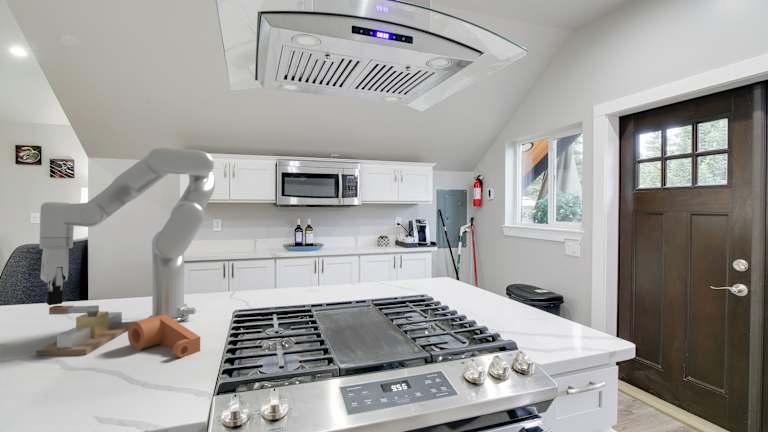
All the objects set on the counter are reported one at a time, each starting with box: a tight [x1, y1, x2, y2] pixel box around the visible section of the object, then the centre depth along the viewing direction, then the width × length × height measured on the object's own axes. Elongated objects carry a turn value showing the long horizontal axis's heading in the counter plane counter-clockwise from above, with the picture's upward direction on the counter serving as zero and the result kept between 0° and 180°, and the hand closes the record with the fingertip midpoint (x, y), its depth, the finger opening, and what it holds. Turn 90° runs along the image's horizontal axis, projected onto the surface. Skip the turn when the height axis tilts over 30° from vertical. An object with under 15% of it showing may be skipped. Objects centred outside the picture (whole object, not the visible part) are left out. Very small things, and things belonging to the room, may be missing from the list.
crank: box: [127, 314, 201, 359], centre depth 100 cm, size 20×8×8 cm, turn 63°
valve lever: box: [48, 304, 100, 315], centre depth 106 cm, size 12×3×2 cm, turn 97°
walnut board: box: [35, 321, 133, 357], centre depth 107 cm, size 24×12×2 cm, turn 7°
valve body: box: [56, 310, 123, 349], centre depth 107 cm, size 22×5×6 cm, turn 7°
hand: (54, 303), depth 109 cm, fingers closed
